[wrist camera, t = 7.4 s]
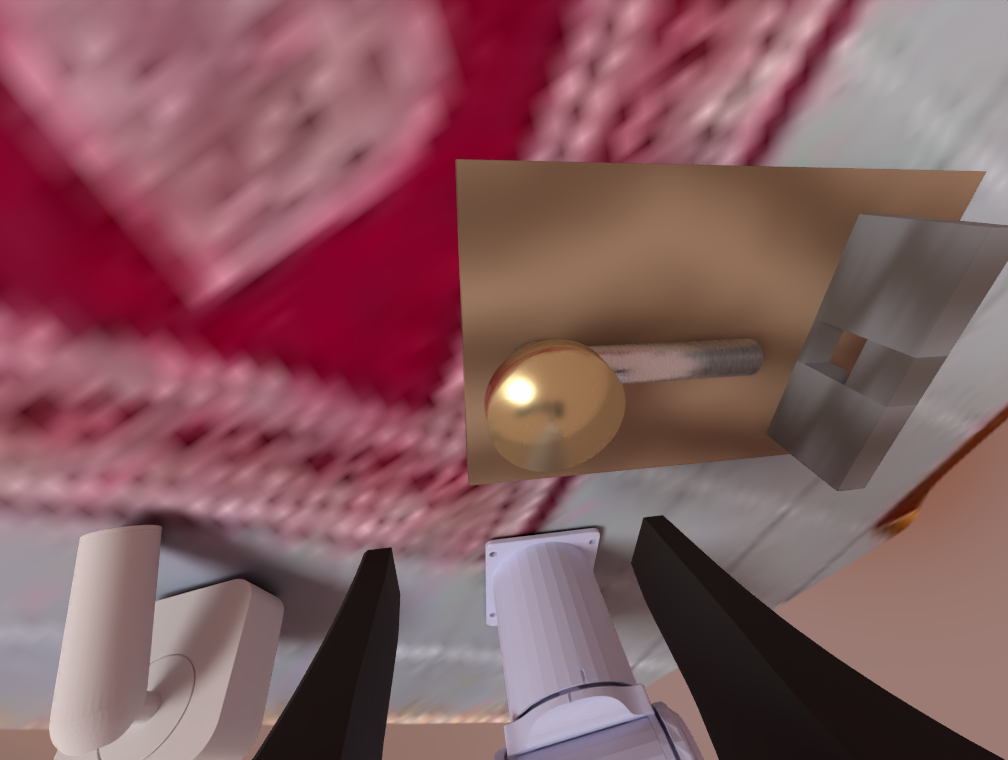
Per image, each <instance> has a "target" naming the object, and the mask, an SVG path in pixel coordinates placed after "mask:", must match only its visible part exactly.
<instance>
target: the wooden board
mask: <svg viewBox="0 0 1008 760" xmlns="http://www.w3.org/2000/svg"><path fill="white" fill-rule="evenodd" d="M455 166H456V192H457V217H458V243H459V268H460V294H461V320H462V345H463V371H464V396H465V422H466V447H467V472H468V482H469V485H479V484H490V483H500V482H510V481H520V480H530V479H540V478H550V477H560V476H571V475H581V474H591V473H601V472H611V471H621V470H631V469H642V468H652V467H662V466H672V465H682V464H692V463H702V462H712V461H723V460H733V459H743V458H753V457H763V456H773V455H783V454H791V455H792V456H794V457H795V458H796V459H797V460H799V461H800V462H801V463H803V464H804V465H805V466H806V467H808V468H809V469H810V470H811V471H813V472H814V473H815V474H816V475H818V476H819V477H820V478H821V479H823V480H824V481H825V482H826V483H828V484H829V485H830V486H831V487H833V488H834V489H835V490H836V491H844V490H852V489H861V488H865V486H866V485H867V483H868V482H869V480H870V478H871V477H872V475H873V474H874V472H875V471H876V469H877V467H878V466H879V464H880V463H881V461H882V459H883V458H884V456H885V455H886V453H887V452H888V450H889V448H890V447H891V445H892V444H893V442H894V440H895V439H896V437H897V436H898V434H899V432H900V431H901V429H902V428H903V426H904V425H905V423H906V421H907V420H908V418H909V417H910V415H911V413H912V412H913V410H914V409H915V407H916V405H917V404H918V402H919V401H920V399H921V398H922V396H923V394H924V393H925V391H926V390H927V388H928V386H929V385H930V383H931V382H932V380H933V378H934V377H935V375H936V374H937V372H938V371H939V369H940V367H941V366H942V364H943V363H944V361H945V359H946V358H947V356H948V355H949V353H950V351H951V350H952V348H953V347H954V345H955V344H956V342H957V340H958V339H959V337H960V336H961V334H962V332H963V331H964V329H965V328H966V326H967V324H968V323H969V321H970V320H971V318H972V317H973V315H974V313H975V312H976V310H977V309H978V307H979V305H980V304H981V302H982V301H983V299H984V298H985V296H986V294H987V293H988V291H989V290H990V288H991V286H992V285H993V283H994V282H995V280H996V278H997V277H998V275H999V274H1000V272H1001V271H1002V269H1003V267H1004V266H1005V264H1006V263H1007V261H1008V225H998V224H987V223H977V222H966V221H960V219H961V217H962V215H963V214H964V212H965V210H966V208H967V206H968V204H969V203H970V201H971V199H972V197H973V195H974V193H975V192H976V190H977V188H978V186H979V184H980V182H981V181H982V179H983V177H984V175H985V173H986V171H942V170H898V169H854V168H810V167H766V166H722V165H678V164H634V163H590V162H546V161H502V160H458V159H457V160H455ZM553 339H564V340H571V341H575V342H578V343H581V344H583V345H585V346H605V345H626V344H646V343H667V342H687V341H708V340H728V339H753V340H755V341H756V342H757V343H758V344H759V345H760V347H761V349H762V352H763V363H762V366H761V368H760V370H759V371H758V372H757V373H756V374H754V375H752V376H742V377H726V378H711V379H695V380H680V381H665V382H649V383H634V384H622V386H623V389H624V393H625V413H624V416H623V420H622V423H621V425H620V427H619V429H618V431H617V433H616V434H615V436H614V437H613V438H612V440H611V441H610V442H609V443H608V444H607V446H606V447H605V448H603V449H602V450H601V451H600V452H599V453H598V454H596V455H595V456H594V457H592V458H590V459H589V460H587V461H585V462H583V463H581V464H579V465H577V466H574V467H571V468H568V469H564V470H560V471H553V472H538V471H531V470H527V469H523V468H520V467H518V466H516V465H514V464H512V463H510V462H509V461H507V460H506V459H505V458H504V457H502V455H501V454H500V453H499V452H498V451H497V450H496V448H495V446H494V445H493V443H492V440H491V438H490V434H489V430H488V425H487V420H486V415H485V408H484V400H485V393H486V389H487V386H488V384H489V381H490V379H491V378H492V376H493V374H494V373H495V371H496V370H497V368H498V367H499V366H500V365H501V364H502V363H503V362H504V361H505V360H506V359H507V358H508V357H510V356H511V354H512V352H513V351H514V350H515V348H517V347H518V346H519V345H521V344H523V343H526V342H531V341H534V342H540V341H545V340H553Z"/></svg>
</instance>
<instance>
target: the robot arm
mask: <svg viewBox="0 0 1008 760" xmlns="http://www.w3.org/2000/svg"><path fill="white" fill-rule="evenodd" d="M599 539H600V533H599V530H598V529H596V528H588V529H580V530H571V531H563V532H555V533H546V534H538V535H530V536H521V537H513V538H505V539H497V540H491V541H489V542H487V543H486V546H485V551H486V621H487V625H489V626H496V625H498V631H499V638H500V646H501V653H502V661H503V668H504V676H505V683H506V690H507V698H508V705H509V713H510V720H511V723H508V724H505V725H504V732H505V740H506V748H504V749H501V750H499V751H497V752H496V754H495V756H494V759H493V760H704V758H703V756H702V754H701V752H700V750H699V748H698V746H697V744H696V742H695V740H694V738H693V736H692V734H691V733H690V731H689V729H688V727H687V726H686V724H685V722H684V721H683V720H682V718H681V717H680V716H679V715H678V714H677V713H676V712H674V711H673V710H671V709H670V708H668V706H667V705H666V704H665V703H663V702H656V703H653V704H652V705H651V702H650V700H649V697H648V695H647V693H646V690H645V688H644V685H643V684H637V683H636V680H635V678H634V675H633V673H632V670H631V668H630V665H629V663H628V660H627V657H626V655H625V652H624V650H623V647H622V645H621V642H620V639H619V637H618V634H617V632H616V629H615V627H614V624H613V622H612V619H611V616H610V614H609V611H608V609H607V606H606V604H605V601H604V599H603V596H602V593H601V591H600V588H599V586H598V583H597V581H596V578H595V576H594V573H593V569H594V564H595V559H596V554H597V549H598V544H599ZM631 564H632V567H633V569H634V572H635V575H636V578H637V581H638V583H639V586H640V589H641V591H642V594H643V596H644V599H645V601H646V603H647V605H648V607H649V609H650V611H651V613H652V615H653V617H654V619H655V621H656V623H657V625H658V627H659V629H660V631H661V633H662V635H663V637H664V639H665V641H666V643H667V645H668V647H669V649H670V651H671V653H672V655H673V657H674V659H675V661H676V663H677V665H678V667H679V669H680V671H681V673H682V675H683V677H684V679H685V681H686V683H687V685H688V687H689V689H690V691H691V694H692V696H693V698H694V700H695V702H696V704H697V706H698V709H699V711H700V714H701V716H702V719H703V721H704V724H705V726H706V729H707V731H708V733H709V736H710V738H711V741H712V743H713V746H714V748H715V750H716V753H717V756H718V758H719V760H1004V759H1003V758H1001V757H999V756H997V755H995V754H994V753H992V752H990V751H988V750H986V749H984V748H982V747H981V746H979V745H977V744H975V743H973V742H972V741H970V740H968V739H966V738H964V737H963V736H961V735H959V734H957V733H956V732H954V731H952V730H951V729H949V728H947V727H946V726H944V725H942V724H940V723H939V722H937V721H935V720H934V719H932V718H930V717H929V716H927V715H925V714H924V713H922V712H920V711H918V710H917V709H915V708H914V707H912V706H910V705H909V704H907V703H906V702H904V701H902V700H901V699H899V698H897V697H896V696H894V695H892V694H891V693H889V692H888V691H886V690H885V689H883V688H881V687H880V686H879V685H877V684H875V683H874V682H872V681H871V680H869V679H868V678H866V677H864V676H863V675H861V674H860V673H859V672H857V671H856V670H854V669H852V668H851V667H849V666H848V665H846V664H845V663H844V662H842V661H840V660H839V659H837V658H836V657H835V656H833V655H832V654H830V653H829V652H827V651H826V650H825V649H823V648H822V647H821V646H819V645H818V644H816V643H815V642H814V641H812V640H811V639H810V638H808V637H807V636H805V635H804V634H803V633H801V632H800V631H799V630H797V629H796V628H794V627H793V626H792V625H790V624H789V623H788V622H786V621H785V620H784V619H783V618H781V617H780V616H779V615H777V614H776V613H775V612H774V611H772V610H771V609H770V608H769V607H767V606H766V605H765V604H764V603H762V602H761V601H760V600H759V599H757V598H756V597H755V596H754V595H752V594H751V593H750V592H749V591H748V590H746V589H745V588H744V587H743V586H742V585H740V584H739V583H738V582H737V581H736V580H735V579H733V578H732V577H731V576H730V575H729V574H728V573H726V572H725V571H724V570H723V569H722V568H721V567H720V566H718V565H717V564H716V563H715V562H714V561H713V560H712V559H711V558H709V557H708V556H707V555H706V554H705V553H704V552H703V551H702V550H701V549H699V548H698V547H697V546H696V545H695V544H694V543H693V542H692V541H691V540H689V539H688V538H687V537H686V536H685V535H684V534H683V533H682V532H681V531H680V530H679V529H677V528H676V527H675V526H674V525H673V524H672V523H671V522H670V521H669V520H667V519H666V518H665V517H664V516H663V515H661V516H653V517H645V518H643V521H642V525H641V529H640V532H639V536H638V540H637V544H636V547H635V551H634V555H633V558H632V562H631ZM399 610H400V591H399V585H398V580H397V575H396V569H395V564H394V559H393V553H392V548H382V549H374V550H368V551H366V552H365V553H364V555H363V558H362V560H361V563H360V565H359V568H358V570H357V573H356V575H355V577H354V580H353V582H352V584H351V586H350V588H349V591H348V593H347V595H346V597H345V599H344V601H343V603H342V605H341V608H340V610H339V612H338V614H337V615H336V617H335V619H334V621H333V623H332V625H331V627H330V629H329V631H328V633H327V635H326V637H325V639H324V641H323V643H322V645H321V646H320V648H319V650H318V652H317V654H316V655H315V657H314V659H313V661H312V663H311V664H310V666H309V668H308V670H307V671H306V673H305V675H304V677H303V678H302V680H301V682H300V684H299V686H298V687H297V689H296V691H295V692H294V694H293V696H292V697H291V699H290V701H289V702H288V704H287V706H286V707H285V709H284V711H283V712H282V714H281V716H280V717H279V719H278V720H277V722H276V724H275V725H274V727H273V728H272V730H271V731H270V733H269V735H268V736H267V738H266V739H265V741H264V742H263V744H262V746H261V747H260V749H259V750H258V752H257V753H256V755H255V756H254V758H253V759H252V760H382V751H383V742H384V736H385V728H386V721H387V714H388V707H389V700H390V693H391V686H392V679H393V671H394V664H395V657H396V650H397V642H398V631H399Z"/></svg>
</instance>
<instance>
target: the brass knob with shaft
mask: <svg viewBox="0 0 1008 760" xmlns="http://www.w3.org/2000/svg"><path fill="white" fill-rule="evenodd" d="M762 363H763V352H762V349H761V347H760V345H759V344H758V343H757V342H756V341H755V340H753V339H728V340H708V341H687V342H667V343H646V344H626V345H605V346H585V345H583V344H581V343H578V342H575V341H571V340H564V339H553V340H545V341H540V342H534V341H531V342H526V343H523V344H521V345H519V346H518V347H517V348H515V350H514V351H513V352H512V354H511V356H510V357H508V358H507V359H506V360H505V361H504V362H503V363H502V364H501V365H500V366H499V367H498V368H497V370H496V371H495V373H494V374H493V376H492V378H491V379H490V381H489V384H488V386H487V389H486V393H485V400H484V408H485V415H486V420H487V425H488V430H489V434H490V438H491V440H492V443H493V445H494V446H495V448H496V450H497V451H498V452H499V453H500V454H501V455H502V457H504V458H505V459H506V460H507V461H509V462H510V463H512V464H514V465H516V466H518V467H520V468H523V469H527V470H531V471H538V472H553V471H560V470H564V469H568V468H571V467H574V466H577V465H579V464H581V463H583V462H585V461H587V460H589V459H590V458H592V457H594V456H595V455H596V454H598V453H599V452H600V451H601V450H602V449H603V448H605V447H606V446H607V444H608V443H609V442H610V441H611V440H612V438H613V437H614V436H615V434H616V433H617V431H618V429H619V427H620V425H621V423H622V420H623V416H624V413H625V393H624V389H623V386H622V384H634V383H649V382H665V381H680V380H695V379H711V378H726V377H742V376H752V375H754V374H756V373H757V372H758V371H759V370H760V368H761V366H762Z"/></svg>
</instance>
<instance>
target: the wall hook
mask: <svg viewBox="0 0 1008 760" xmlns="http://www.w3.org/2000/svg"><path fill="white" fill-rule="evenodd" d="M161 533H162V527H161V526H158V525H137V526H126V527H119V528H112V529H106V530H101V531H97V532H93V533H89V534H86V535H84V536H82V537H80V541H79V547H78V553H77V559H76V565H75V571H74V577H73V583H72V589H71V595H70V601H69V607H68V613H67V619H66V625H65V631H64V638H63V644H62V650H61V656H60V662H59V668H58V674H57V680H56V686H55V692H54V698H53V705H52V711H51V718H50V726H49V730H50V737H51V740H52V743H53V744H54V746H55V747H56V748H57V749H58V751H57V753H56V755H55V757H54V760H242V759H243V758H244V756H245V755H246V754H247V753H248V752H249V750H250V749H251V747H252V746H253V744H254V743H255V741H256V739H257V737H258V734H259V732H260V729H261V725H262V720H263V715H264V711H265V706H266V701H267V696H268V691H269V686H270V681H271V676H272V671H273V666H274V660H275V655H276V650H277V645H278V640H279V635H280V630H281V625H282V620H283V615H284V606H283V603H282V601H281V600H280V599H279V598H277V597H276V596H274V595H272V594H270V593H268V592H266V591H265V590H263V589H261V588H259V587H257V586H255V585H253V584H251V583H250V582H248V581H246V580H244V579H235V580H231V581H227V582H223V583H220V584H216V585H212V586H209V587H205V588H201V589H198V590H194V591H191V592H187V593H183V594H180V595H176V596H173V597H169V598H165V599H162V600H158V601H155V600H156V589H157V578H158V566H159V555H160V544H161Z"/></svg>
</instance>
